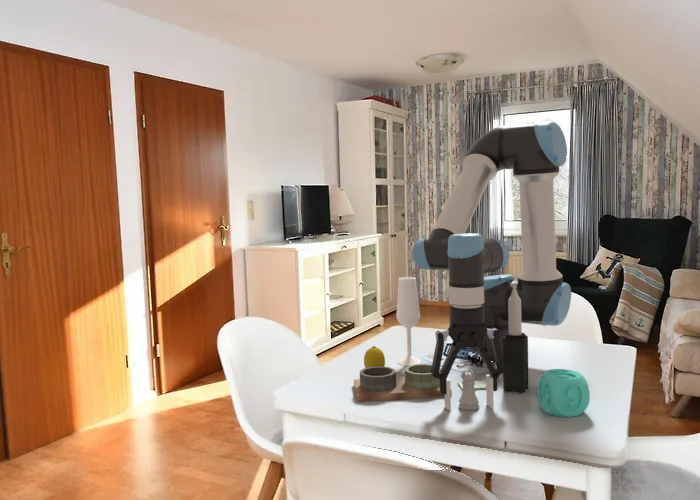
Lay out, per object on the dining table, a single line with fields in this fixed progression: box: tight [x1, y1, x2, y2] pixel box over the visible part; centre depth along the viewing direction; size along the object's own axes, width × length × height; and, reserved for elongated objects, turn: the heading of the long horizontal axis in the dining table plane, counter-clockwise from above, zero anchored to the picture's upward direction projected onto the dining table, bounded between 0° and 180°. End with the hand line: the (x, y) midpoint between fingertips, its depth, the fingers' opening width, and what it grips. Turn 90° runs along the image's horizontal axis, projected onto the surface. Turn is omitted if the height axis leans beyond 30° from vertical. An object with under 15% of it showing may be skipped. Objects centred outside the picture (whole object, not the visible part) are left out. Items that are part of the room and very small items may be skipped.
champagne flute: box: [396, 276, 422, 367], centre depth 167 cm, size 7×7×24 cm
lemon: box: [363, 345, 386, 368], centre depth 156 cm, size 6×6×8 cm
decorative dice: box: [536, 368, 591, 418], centre depth 126 cm, size 8×8×8 cm
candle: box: [502, 285, 530, 394], centre depth 140 cm, size 5×5×25 cm
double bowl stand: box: [353, 363, 453, 402], centre depth 144 cm, size 22×12×5 cm, turn 93°
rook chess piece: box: [458, 369, 480, 412], centre depth 130 cm, size 4×4×8 cm
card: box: [457, 380, 486, 391], centre depth 145 cm, size 7×5×1 cm
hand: (469, 406), depth 130 cm, fingers open, 9 cm apart
